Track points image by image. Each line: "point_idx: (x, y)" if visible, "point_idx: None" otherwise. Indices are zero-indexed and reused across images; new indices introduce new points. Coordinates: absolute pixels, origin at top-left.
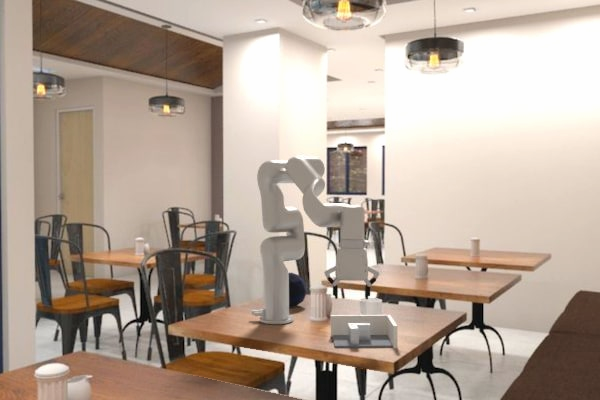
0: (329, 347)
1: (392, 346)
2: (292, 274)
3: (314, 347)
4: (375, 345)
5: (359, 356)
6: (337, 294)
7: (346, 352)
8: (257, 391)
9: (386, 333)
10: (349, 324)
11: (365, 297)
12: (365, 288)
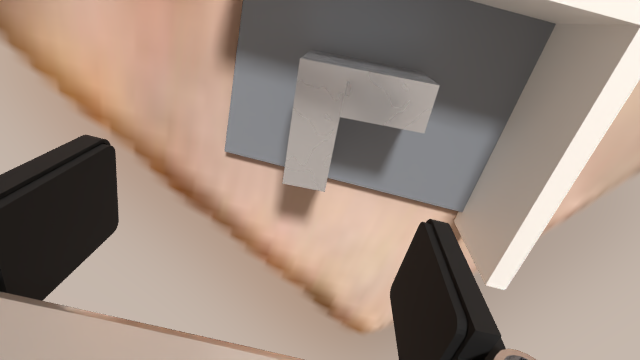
0: (206, 136)
1: (458, 209)
2: None
3: (144, 119)
4: (392, 192)
5: (291, 264)
6: (89, 252)
7: (259, 215)
8: None
9: (556, 23)
10: (302, 91)
11: (403, 265)
12: (427, 335)
